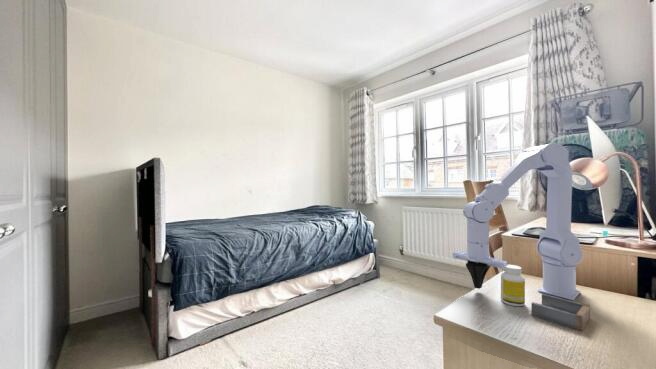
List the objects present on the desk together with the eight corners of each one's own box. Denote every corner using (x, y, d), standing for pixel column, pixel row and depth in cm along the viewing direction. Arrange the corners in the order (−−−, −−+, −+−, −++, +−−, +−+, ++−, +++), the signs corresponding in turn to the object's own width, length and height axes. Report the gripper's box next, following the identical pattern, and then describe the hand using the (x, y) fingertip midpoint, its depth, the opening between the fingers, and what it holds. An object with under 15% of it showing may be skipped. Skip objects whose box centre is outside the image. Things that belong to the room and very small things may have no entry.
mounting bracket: (542, 304, 71) (542, 293, 71) (589, 318, 64) (589, 305, 64) (531, 315, 65) (531, 303, 65) (581, 331, 58) (581, 317, 58)
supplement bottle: (529, 307, 69) (529, 270, 69) (506, 306, 70) (505, 269, 70) (518, 299, 75) (518, 264, 75) (497, 297, 76) (497, 263, 76)
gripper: (447, 239, 83) (447, 283, 83) (499, 248, 71) (500, 299, 71) (458, 236, 87) (458, 278, 87) (509, 244, 76) (509, 292, 76)
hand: (478, 287), depth 80 cm, fingers closed
